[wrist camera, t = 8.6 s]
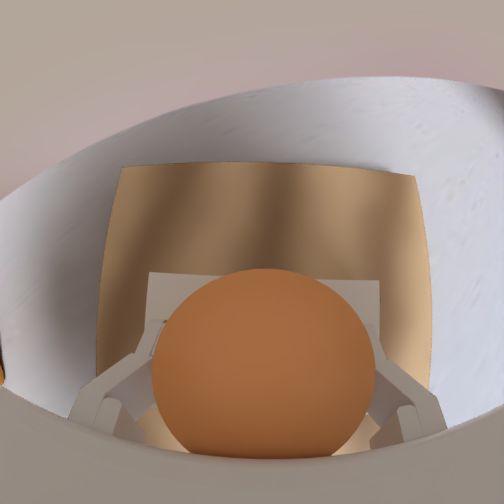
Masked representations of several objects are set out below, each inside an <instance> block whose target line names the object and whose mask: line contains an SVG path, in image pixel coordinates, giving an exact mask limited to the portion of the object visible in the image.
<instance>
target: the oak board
mask: <svg viewBox="0 0 504 504" xmlns="http://www.w3.org/2000/svg"><path fill="white" fill-rule="evenodd" d="M251 269H278V270H286V271H291V272H295V273H299V274H302V275H305V276H307V277H310V278H313V279H323V280H379V292H380V328H379V340H380V343H381V346H382V348H383V351H384V354H385V356H386V359H387V360H392V361H393V362H394V363H395V364H397V365H398V366H399V367H400V368H401V369H403V370H404V371H405V372H406V373H408V374H409V375H410V376H411V377H412V378H414V379H415V380H416V381H417V382H419V383H420V384H421V385H422V386H424V387H425V388H426V389H427V390H428V387H429V378H430V366H431V349H432V294H431V277H430V265H429V255H428V246H427V239H426V231H425V225H424V219H423V213H422V207H421V202H420V197H419V192H418V188H417V183H416V179H415V176H411V175H404V174H398V173H391V172H384V171H376V170H368V169H359V168H349V167H339V166H327V165H314V164H297V163H274V162H196V163H173V164H157V165H144V166H132V167H122V170H121V174H120V178H119V181H118V185H117V190H116V194H115V198H114V202H113V207H112V212H111V217H110V222H109V227H108V232H107V238H106V244H105V250H104V257H103V264H102V272H101V280H100V290H99V301H98V314H97V334H96V377H98V376H99V375H100V374H102V373H103V372H105V371H106V370H108V369H109V368H110V367H112V366H113V365H115V364H116V363H117V362H119V361H120V360H122V359H123V358H125V357H126V356H127V355H129V354H130V353H134V354H135V352H136V349H137V347H138V344H139V342H140V340H141V337H142V335H143V333H144V329H145V313H146V300H147V289H148V279H149V272H157V273H174V274H191V275H211V276H225V275H228V274H232V273H235V272H239V271H245V270H251ZM136 423H137V424H138V425H139V426H140V428H141V429H142V430H143V431H144V433H145V434H146V437H145V441H144V444H146V445H150V446H155V447H159V448H164V449H169V450H175V451H181V452H187V453H190V452H189V451H188V450H187V449H185V448H184V447H183V446H182V445H181V444H180V443H179V442H178V440H177V439H176V438H175V437H174V436H173V435H172V433H171V432H170V430H169V429H168V427H167V426H166V424H165V422H164V420H163V419H162V417H161V415H160V413H159V410H158V408H154V407H150V408H149V409H148V410H147V411H146V412H145V413H144V414H143V415H142V416H141V417H140V418H139V419H138V420H137V421H136ZM379 429H380V427H379V426H378V425H377V424H376V422H375V421H374V420H373V419H372V418H371V417H370V415H369V414H367V415H365V417H364V419H363V421H362V422H361V424H360V425H359V427H358V429H357V430H356V431H355V433H354V434H353V435H352V436H351V438H350V439H349V440H348V441H347V442H346V443H345V444H344V445H343V446H342V447H341V448H340V449H339V450H338V451H336V452H335V453H334V454H332V455H331V456H333V455H341V454H348V453H355V452H361V451H367V450H370V444H369V440H370V439H371V438H372V436H373V435H374V434H375V433H376V432H377V431H378V430H379Z"/></svg>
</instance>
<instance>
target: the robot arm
mask: <svg viewBox="0 0 504 504" xmlns="http://www.w3.org/2000/svg"><path fill="white" fill-rule="evenodd" d="M166 322H167V320H160V319H151V320H149V322H148V324H147V326H146V328H145V330H144V333H143V335H142V337H141V340H140V342H139V344H138V347H137V349H136V352H135V354H134V353H130V354H129V355H127V356H126V357H125V358H123V359H122V360H120V361H119V362H117V363H116V364H115V365H113V366H112V367H110V368H109V369H108V370H106V371H105V372H103V373H102V374H100V375H99V376H98V377H96V378H95V379H93V380H92V381H91V382H89V383H88V384H86V385H85V386H83V387H82V388H81V390H80V392H79V394H78V396H77V398H76V401H75V403H74V405H73V408H72V410H71V412H70V415H69V417H68V419H66V418H63V417H61V416H59V415H56V414H54V413H52V412H50V411H48V410H45V409H43V408H41V407H39V406H37V405H35V404H33V403H31V402H29V401H28V400H26V399H24V398H22V397H20V396H18V395H17V394H15V393H13V392H11V391H10V390H8V389H6V388H5V387H3V386H1V385H0V504H504V404H502V405H500V406H499V407H497V408H495V409H493V410H491V411H488V412H486V413H484V414H482V415H480V416H478V417H475V418H473V419H471V420H468V421H466V422H464V423H461V424H459V425H456V426H453V427H451V428H448V429H447V425H446V422H445V419H444V416H443V414H442V411H441V408H440V405H439V402H438V399H437V397H436V396H435V395H433V394H432V393H431V392H430V391H428V390H427V389H426V388H425V387H424V386H422V385H421V384H420V383H419V382H417V381H416V380H415V379H414V378H412V377H411V376H410V375H409V374H408V373H406V372H405V371H404V370H403V369H401V368H400V367H399V366H398V365H397V364H395V363H394V362H393V361H392V360H387V359H386V356H385V354H384V351H383V348H382V346H381V343H380V340H379V338H378V335H377V333H376V330H375V327H374V326H373V325H372V324H368V325H364V326H365V328H366V331H367V333H368V335H369V338H370V340H371V344H372V348H373V351H374V358H375V366H376V368H375V385H374V391H373V396H372V399H371V402H370V405H369V408H368V410H367V413H368V414H369V415H370V417H371V418H372V419H373V420H374V421H375V422H376V424H377V425H378V426H379V427H380V429H379V430H378V431H377V432H376V433H375V434H374V435H373V436H372V438H371V439H370V440H369V444H370V450H367V451H361V452H355V453H348V454H341V455H333V456H323V457H312V458H295V459H247V458H230V457H219V456H209V455H201V454H193V453H187V452H181V451H175V450H169V449H164V448H159V447H155V446H150V445H146V444H144V441H145V437H146V434H145V433H144V431H143V430H142V429H141V428H140V426H139V425H138V424H137V423H136V421H137V420H138V419H139V418H140V417H141V416H142V415H143V414H144V413H145V412H146V411H147V410H148V409H149V408H150V407H151V406H152V405H153V404H154V403H155V402H156V401H155V397H154V392H153V387H152V361H153V356H154V351H155V347H156V344H157V341H158V338H159V336H160V333H161V331H162V329H163V328H164V326H165V324H166Z"/></svg>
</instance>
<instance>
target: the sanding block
mask: <svg viewBox="0 0 504 504" xmlns="http://www.w3.org/2000/svg"><path fill="white" fill-rule="evenodd" d="M151 319H160V320H167V322H166V324H165V326H164V328H163V329H162V331H161V333H160V336H159V338H158V341H157V344H156V347H155V351H154V356H153V361H152V387H153V392H154V397H155V401H156V402H155V403H154V404H153V405H152V406H151V407H154V408H158V410H159V413H160V415H161V417H162V419H163V420H164V422H165V424H166V426H167V427H168V429H169V430H170V432H171V433H172V435H173V436H174V437H175V438H176V439H177V440H178V442H179V443H180V444H181V445H182V446H183V447H184V448H185V449H187V450H188V451H189V452H190V453H193V454H201V455H209V456H219V457H230V458H247V459H295V458H312V457H323V456H331V455H332V454H334V453H335V452H336V451H338V450H339V449H340V448H341V447H342V446H343V445H344V444H345V443H346V442H347V441H348V440H349V439H350V438H351V436H352V435H353V434H354V433H355V431H356V430H357V429H358V427H359V425H360V424H361V422H362V421H363V419H364V417H365V415H367V414H368V413H367V410H368V408H369V405H370V402H371V399H372V396H373V391H374V385H375V368H376V366H375V358H374V351H373V348H372V344H371V340H370V338H369V335H368V333H367V331H366V328H365V326H364V325H368V324H372V325H373V326H374V327H375V330H376V333H377V335H378V338H379V328H380V292H379V280H323V279H313V278H310V277H307V276H305V275H302V274H299V273H295V272H291V271H286V270H278V269H251V270H245V271H239V272H235V273H232V274H228V275H225V276H211V275H191V274H174V273H157V272H149V279H148V289H147V300H146V313H145V328H146V326H147V324H148V322H149V320H151ZM144 330H145V329H144Z"/></svg>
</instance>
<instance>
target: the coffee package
mask: <svg viewBox="0 0 504 504" xmlns="http://www.w3.org/2000/svg"><path fill="white" fill-rule="evenodd" d="M3 383H4V374H3V370H2V367H1V365H0V385H2V384H3Z"/></svg>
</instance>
